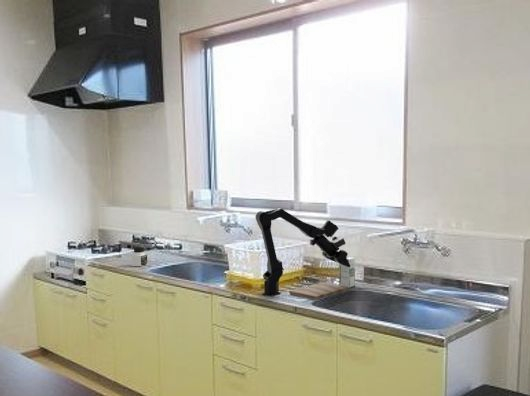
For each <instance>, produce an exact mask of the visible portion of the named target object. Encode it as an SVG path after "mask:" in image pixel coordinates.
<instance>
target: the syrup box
mask: <svg viewBox="0 0 530 396" xmlns="http://www.w3.org/2000/svg"><path fill="white" fill-rule="evenodd" d="M347 260H348V262H349V264H350V267H347V266H344V265H342V264H339V263H338V264H339V265H338V267H339V270H338V271H339V275H338V276H339V277H338V279H339V280H338V282H339V283H338V285H339V286H344V287H348V289H350V288H353V287H355V286H356V258H355V257H353V256H347Z"/></svg>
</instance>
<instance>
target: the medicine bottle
mask: <svg viewBox="0 0 530 396" xmlns="http://www.w3.org/2000/svg"><path fill="white" fill-rule="evenodd" d="M130 258H131V261H130V262H131V266H132V265H133V266H143V267H145V266H144V265H146V264H147V265H148V253H145V247H144V246H142V245H138V246H134V247H133V254H131V257H130ZM147 265H146V266H147Z"/></svg>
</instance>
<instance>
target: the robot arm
mask: <svg viewBox="0 0 530 396" xmlns="http://www.w3.org/2000/svg"><path fill="white" fill-rule="evenodd" d="M279 218H280V219H282V220H283V221H285V222H287V223H288V224H290V225H292V226H294V227H295V228H297V229H298V230H299V231H300V232H301V233H302V234H303V235H305V236H306V237H308V238H311V239H310V240H309V241H310V243H309V245H310V246H312V247H314V246H315V245H316V246H317V248H318V247H319V249H320V251H321V252H322V254H321V255H322V256H323V257H324V258H325V259H328V260H330V261H332V262H335V263H337V264H342V265H344V266H347V267H350V264H349V262H348V260H347V257H348V254H349V253H348V252H347V251H346V250H345V249H344V250H343V249H340V247H342V246H344V245H346V241H345V238H344V237H342V236H338V237H337V236H334V235H335V234H336V232H337V231H338V230H339V227H338V226H337V225H336V224H335V223H334V222H332V221H331V220H329V219H327V220H326V221H325V223H324V224H323V225H322V227H318V226H315V225H312V224H310V223H307V222H304V221H303V220H300V219H299V218H297V217H296V216H294V215H292V214H291V213H289V212H288V211H286V210H285V209H284V208H281V207H278V208H276V209H271V210H267V211H265V210H264V211H263V210H260V211H257V213H256V214H255V220H256V222H257V225H258V227H259V229H260V231H261V235H262V239H263V243H264V247H265V254H266V258H267V263H266V271H265V272H264V274H262V277H263V280H264V281H263V283H264V286H263V287H264V288H263V289H264V291H263V292H261V293H262V294H263V295H268V296H271V297H272V296H275V295H279V294H282V292H281V291H279V289H280V287H279V282H280V279H281V277H282V276H283V273H284V270H285V269H284V266H283V261H281V260H279V259H278V257H277V253H276V249H275V245H274V239H273V235H272V230H271V228H272V221H275V220H277V219H279ZM328 238H331V239H332V240H331V241H330V240H329V239H328Z"/></svg>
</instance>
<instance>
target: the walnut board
mask: <svg viewBox="0 0 530 396" xmlns="http://www.w3.org/2000/svg"><path fill="white" fill-rule="evenodd" d="M347 291H349V288H348V287H344V286H339V284H333V283H328V282H322V281H321V282H318V283H316V284H311V285H308V286H303V287H300V288H296V289H293V290H292V289H291V290H289V295H292V296H296V297H300V298H301V297H302V298H305V299H310V300H314V301H316V300H320V299H323V298H327V297H331V296H333V295H338V294H340V293H344V292H347Z"/></svg>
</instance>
